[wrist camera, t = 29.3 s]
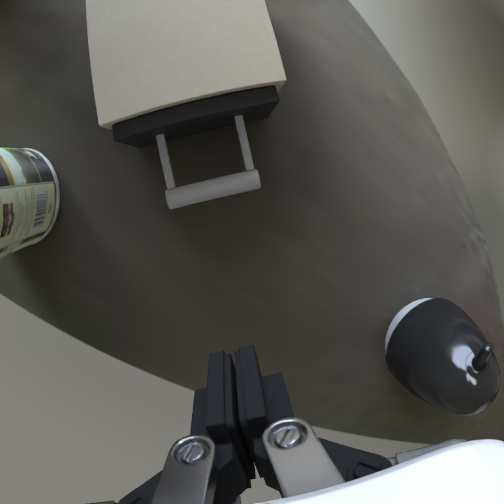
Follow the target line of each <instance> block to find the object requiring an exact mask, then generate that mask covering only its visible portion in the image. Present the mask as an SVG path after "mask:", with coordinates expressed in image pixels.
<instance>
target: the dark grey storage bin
mask: <svg viewBox="0 0 504 504" xmlns="http://www.w3.org/2000/svg"><path fill="white" fill-rule="evenodd" d="M278 102H279V97H278V93H277V89H276V86H275V85H274V86H267V87H261V88H255V89H254V88H251V89H245V90H240V91H235V92H230V93H225V94H222V95H219V96H214V97H210V98H205V99H201V100H197V101H193V102H189V103H185V104H181V105H177V106H173V107H169V108H168V107H166V108H163V109H159V110H156V111H152V112H149V113H145V114H142V115H139V116H137V117H135V118H132V119H129V120H126V121H123V122H120V123H117V124H114V125H112V129H113V134H114V140H115V141H117V142H120V143H124V144H127V145H131V146H134V147H138V148H142V147H145V146H149V145H152V144H156V143H157V144H158V149H159V154H160V158H161V163H162V167H163V172H164V176H165V181H166V185H167V189H168V190H166V193H165V195H166V201H167V204H168V207H169V208H170V209H174V208H178V207H182V206H186V205H190V204H194V203H199V202H203V201H207V200H211V199H215V198H220V197H224V196H228V195H233V194H237V193H242V192H246V191H251V190H255V189H260V188H261V183H260V178H259V174H258V171H257V169H254V165H253V161H252V156H251V152H250V147H249V143H248V138H247V134H246V129H245V125H244V122H248V121H253V120H259V119H264V118H267V117H268V116H269V114H270V113H271V112H272V110H273V109H274V108H275V106H276V105H277V104H278ZM233 124H236V128H237V132H238V137H239V141H240V146H241V150H242V155H243V160H244V164H245V169H246V171H244V172H240V173H235V174H231V175H226V176H222V177H218V178H213V179H209V180H205V181H201V182H197V183H192V184H188V185H184V186H181V187H177V188H176V184H175V180H174V176H173V171H172V167H171V162H170V158H169V153H168V149H167V144H166V141H167V140H170V139H174V138H178V137H182V136H186V135H190V134H194V133H198V132H202V131H206V130H210V129H215V128H219V127H224V126H228V125H233Z"/></svg>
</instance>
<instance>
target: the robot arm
mask: <svg viewBox="0 0 504 504" xmlns="http://www.w3.org/2000/svg"><path fill="white" fill-rule="evenodd" d="M239 350H240V351H239V352H235V366H234V363H233V360H232V356H231V354H230V353H229V354H225V352H224V351H220V352H215V353H210V354H209V366H208V381H207V388H204V389H198V390H195V395H194V403H193V413H192V422H191V433H190V435H189V436H186V437H183V438H181V439H179V440H178V441H176V442H175V443H174V444H173V446H172V447H171V449H170V451H169V453H168V456H167V459H166V462H165V465H164V468H163V470H162V471H160V472H159V473H158V474H156V475H155V476H154V477H152V478H151V479H149V480H148V481H146V482H145V483H144V484H142V485H141V486H139V487H138V488H136V489H135V490H133V491H132V492H131V493H129V494H128V495H126V496H125V497H123V498H122V499H121V500H120V501H119V503H115V502H114V501H106V502H98V503H90V504H241V497H240V494H241V493H242V492H243V491H245V490H246V489H247V488H251V481H250V479H255V478H256V475H255V467H254V463H255V465H256V468H257V471H258V473H259V476H260V478H261V477H263V478H264V480H265V483H266V485H267V486H269V487H271V488H273V489H276V490H278V491H279V492H280V495H281V497H282V499H277V500H273V501H267V502H261V503H255V504H504V442H502V441H499V440H493V439H484V440H475V441H469V442H468V441H466V440H463V439H452V440H448V441H445V442H441V443H438V444H434V445H430V446H427V447H422V448H418V449H415V450H410V451H406V452H401V453H396V455H395V457H392V458H385V457H383V456H381V455H378V454H374V453H370V452H366V451H362V450H358V449H355V448H351V447H348V446H344V445H341V444H338V443H334V442H331V441H328V440H325V439H321V438H318V437H317V436H316V434H315V432H314V431H313V429H312V427H311V426H310V425H309V423H308V422H306V421H304V420H302V419H299V418H294V415H293V411H292V408H291V404H290V401H289V397H288V394H287V390H286V387H285V383H284V380H283V376H282V373H278V374H273V375H269V376H265V377H262V375H261V371H260V367H259V363H258V359H257V355H256V351H255V347H254V344H253V345H249V346H244V347H240V348H239ZM235 368H236V370H235Z"/></svg>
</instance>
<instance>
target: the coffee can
mask: <svg viewBox="0 0 504 504" xmlns="http://www.w3.org/2000/svg"><path fill="white" fill-rule="evenodd" d="M59 204H60V189H59V182H58V178H57V175H56V172H55V170H54V168H53V166H52V164H51V163H50V161H49V160H48V159H47V158H46V157H45V156H44V155H43V154H42V153H40V152H39V151H36V150H34V149H30V148H21V149H19V148H0V258H2V257H4V256H6V255H8V254H10V253H12V252H15V251H17V250H19V249H21V248H23V247H26V246H28V245H33V244H35V243H37V242H39V241H40V240H42V239H43V238H44V237H45V236H46V235H47V234H48V233H49V232H50V230H51V229H52V227H53V225H54V223H55V221H56V217H57V214H58V210H59Z"/></svg>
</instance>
